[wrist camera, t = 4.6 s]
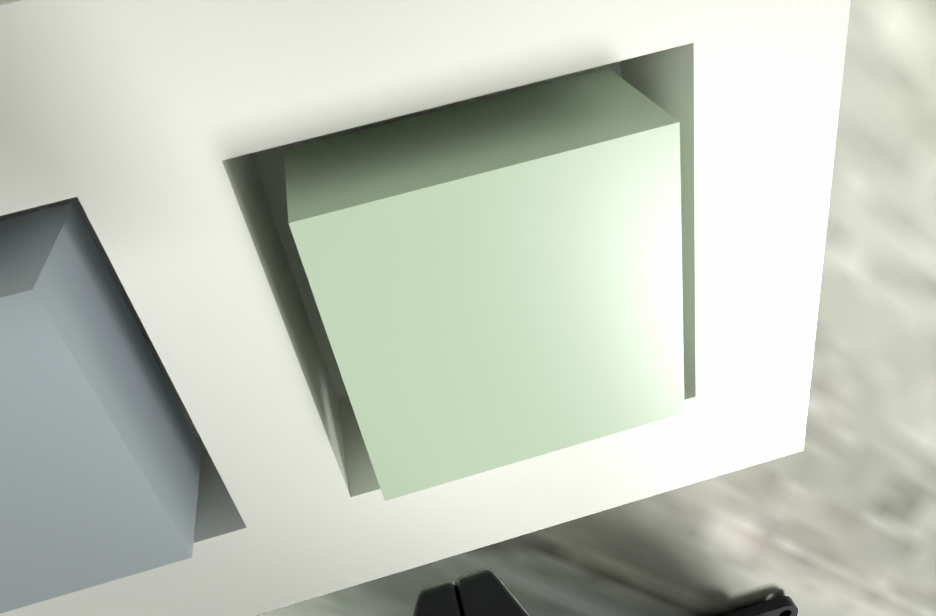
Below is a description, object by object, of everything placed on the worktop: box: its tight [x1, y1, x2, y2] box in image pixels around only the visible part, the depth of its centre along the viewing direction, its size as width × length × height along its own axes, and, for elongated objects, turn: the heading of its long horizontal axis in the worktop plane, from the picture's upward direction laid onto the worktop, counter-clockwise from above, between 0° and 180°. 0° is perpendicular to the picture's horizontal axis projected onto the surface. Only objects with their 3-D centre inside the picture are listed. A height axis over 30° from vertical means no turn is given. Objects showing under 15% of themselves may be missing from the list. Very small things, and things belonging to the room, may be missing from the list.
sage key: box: [284, 69, 685, 501], centre depth 13 cm, size 6×6×3 cm
